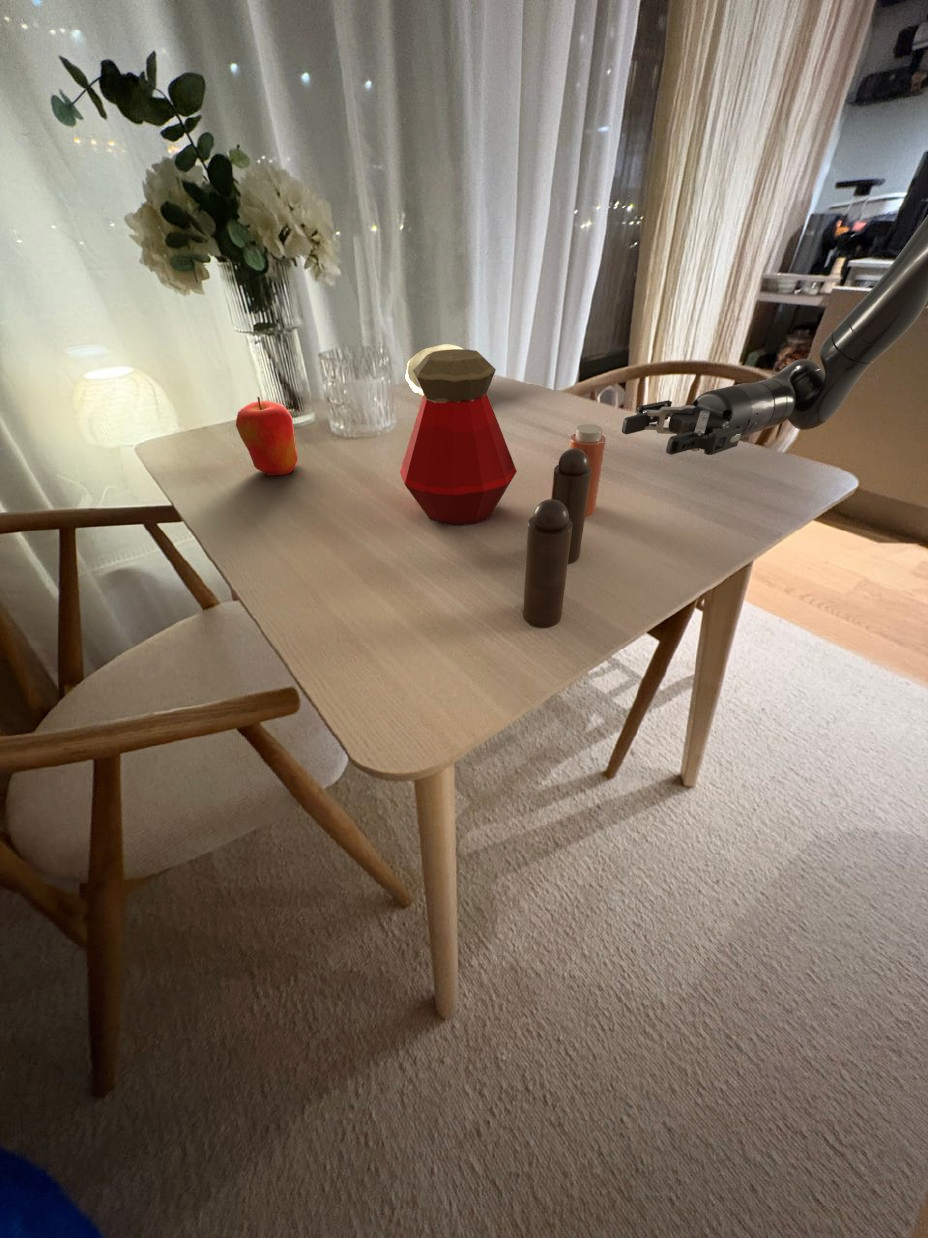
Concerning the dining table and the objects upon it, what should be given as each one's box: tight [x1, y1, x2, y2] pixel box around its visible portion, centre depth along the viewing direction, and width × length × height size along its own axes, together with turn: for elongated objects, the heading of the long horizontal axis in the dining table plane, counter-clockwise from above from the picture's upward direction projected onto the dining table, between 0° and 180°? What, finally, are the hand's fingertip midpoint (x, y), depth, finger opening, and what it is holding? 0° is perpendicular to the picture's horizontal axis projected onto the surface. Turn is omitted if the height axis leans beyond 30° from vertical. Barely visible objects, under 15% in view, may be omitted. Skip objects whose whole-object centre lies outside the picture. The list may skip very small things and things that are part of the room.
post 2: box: [551, 448, 592, 565], centre depth 56 cm, size 4×4×13 cm
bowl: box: [405, 343, 463, 397], centre depth 104 cm, size 15×14×10 cm
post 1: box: [522, 498, 573, 629], centre depth 48 cm, size 4×4×13 cm
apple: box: [235, 396, 298, 476], centre depth 79 cm, size 9×8×12 cm
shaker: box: [568, 423, 607, 517], centre depth 65 cm, size 4×4×11 cm
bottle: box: [399, 348, 517, 527], centre depth 63 cm, size 16×14×20 cm
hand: (645, 436), depth 66 cm, fingers open, 8 cm apart
